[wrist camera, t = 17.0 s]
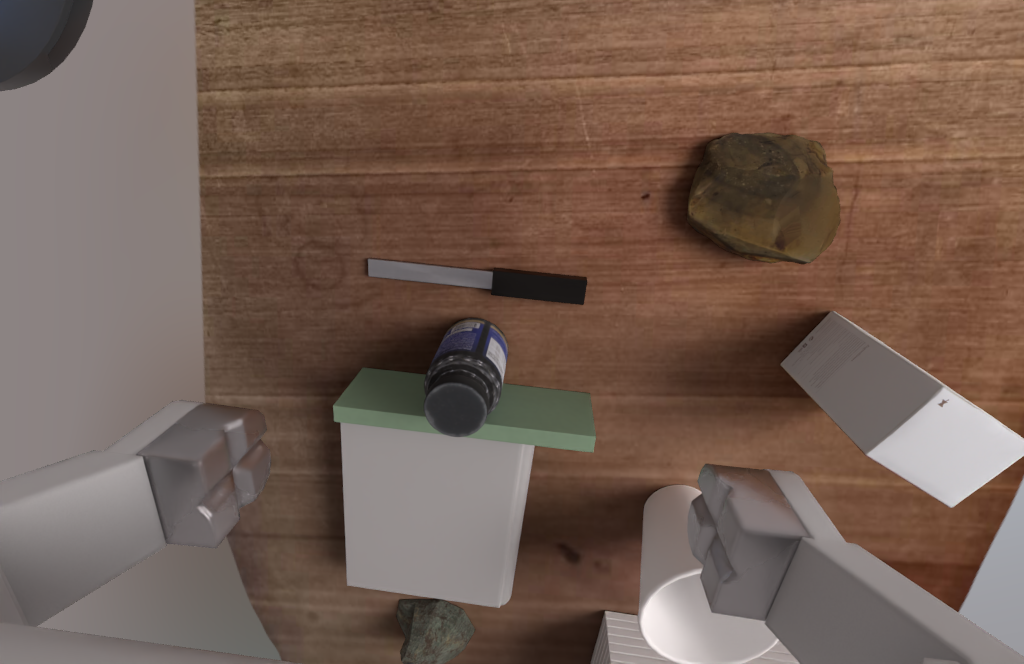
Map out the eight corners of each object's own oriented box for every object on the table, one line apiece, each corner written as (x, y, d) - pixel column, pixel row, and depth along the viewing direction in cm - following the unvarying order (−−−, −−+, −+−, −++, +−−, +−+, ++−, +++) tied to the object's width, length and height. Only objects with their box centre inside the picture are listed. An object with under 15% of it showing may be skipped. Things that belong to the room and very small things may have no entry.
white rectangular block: (346, 585, 54) (339, 401, 44) (359, 557, 57) (355, 380, 47) (509, 609, 53) (538, 428, 43) (512, 579, 57) (539, 405, 47)
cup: (595, 512, 52) (607, 622, 40) (678, 444, 47) (718, 545, 36) (674, 568, 54) (707, 687, 42) (760, 508, 50) (822, 622, 38)
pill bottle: (435, 361, 46) (402, 429, 36) (455, 305, 43) (425, 361, 33) (496, 384, 46) (480, 456, 36) (519, 329, 44) (509, 391, 34)
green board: (363, 381, 47) (333, 421, 41) (362, 367, 47) (332, 405, 40) (587, 407, 47) (593, 452, 40) (590, 393, 46) (596, 437, 40)
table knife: (369, 278, 43) (366, 281, 42) (369, 254, 42) (365, 257, 41) (582, 301, 42) (583, 305, 41) (586, 277, 41) (587, 280, 41)
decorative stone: (671, 243, 40) (681, 254, 37) (706, 121, 36) (721, 121, 33) (797, 264, 40) (818, 277, 37) (847, 144, 36) (875, 146, 33)
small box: (777, 364, 43) (862, 455, 31) (831, 308, 41) (946, 384, 29) (845, 407, 44) (953, 511, 32) (902, 355, 42) (1040, 447, 30)
